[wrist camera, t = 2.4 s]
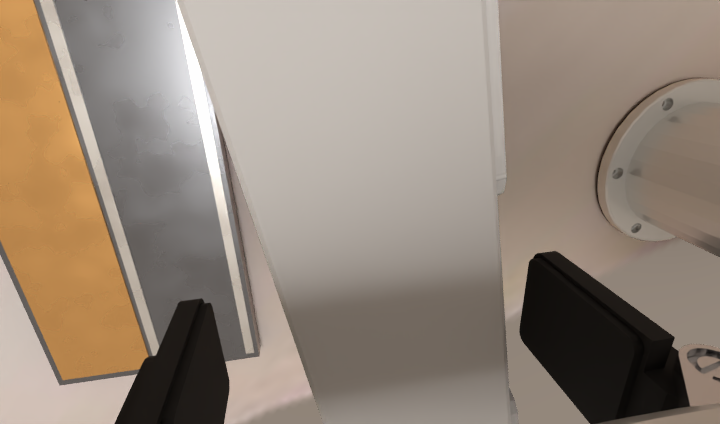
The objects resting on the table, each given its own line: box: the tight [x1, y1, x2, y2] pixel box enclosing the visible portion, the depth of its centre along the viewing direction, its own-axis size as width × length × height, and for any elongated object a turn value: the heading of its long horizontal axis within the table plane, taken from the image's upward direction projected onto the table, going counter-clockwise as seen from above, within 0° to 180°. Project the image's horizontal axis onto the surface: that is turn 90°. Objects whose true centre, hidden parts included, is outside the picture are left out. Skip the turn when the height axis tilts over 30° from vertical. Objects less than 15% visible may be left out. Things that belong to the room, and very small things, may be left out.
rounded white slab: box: [177, 0, 518, 424], centre depth 18 cm, size 29×8×18 cm, turn 12°
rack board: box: [0, 0, 261, 385], centre depth 24 cm, size 14×26×1 cm, turn 3°
